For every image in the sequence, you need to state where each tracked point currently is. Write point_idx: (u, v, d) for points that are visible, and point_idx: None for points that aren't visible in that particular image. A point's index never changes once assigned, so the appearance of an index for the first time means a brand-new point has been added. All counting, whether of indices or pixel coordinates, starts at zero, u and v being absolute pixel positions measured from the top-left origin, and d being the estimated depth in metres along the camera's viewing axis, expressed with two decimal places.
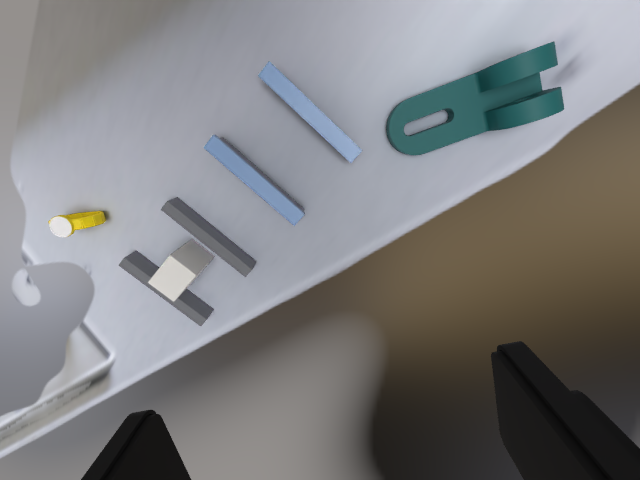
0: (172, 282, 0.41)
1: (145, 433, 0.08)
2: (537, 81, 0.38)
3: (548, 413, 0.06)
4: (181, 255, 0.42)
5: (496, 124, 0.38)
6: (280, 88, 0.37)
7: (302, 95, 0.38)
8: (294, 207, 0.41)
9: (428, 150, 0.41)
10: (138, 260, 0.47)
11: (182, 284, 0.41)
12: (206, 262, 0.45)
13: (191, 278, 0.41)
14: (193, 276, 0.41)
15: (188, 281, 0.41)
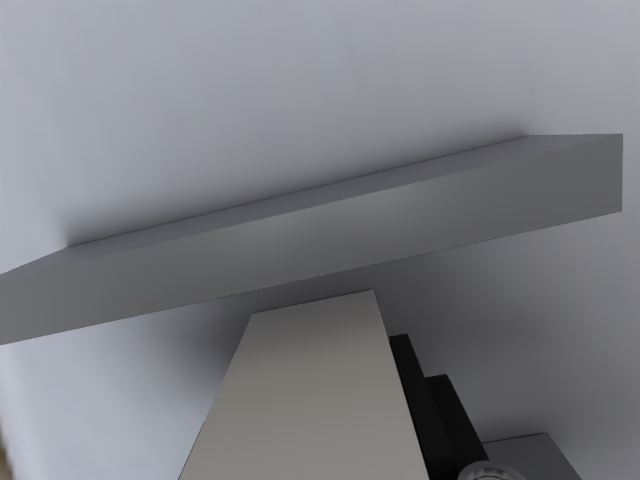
0: None
1: None
2: None
3: None
4: None
5: None
6: None
7: None
8: None
9: None
10: None
11: None
12: None
13: None
14: None
15: None
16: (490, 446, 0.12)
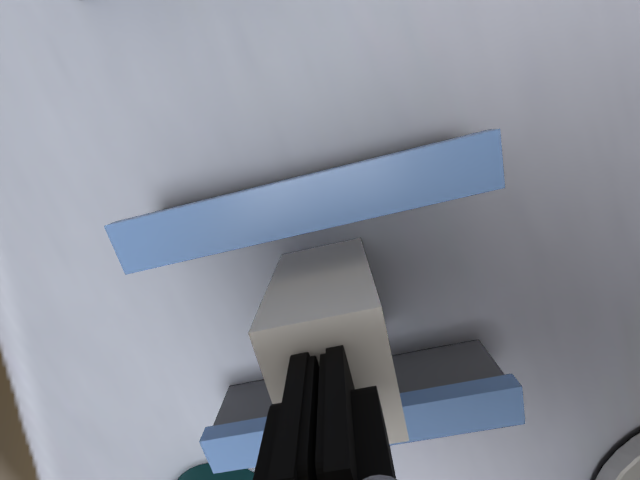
0: None
1: (314, 369, 0.09)
2: None
3: (322, 403, 0.08)
4: None
5: None
6: (456, 411, 0.14)
7: None
8: (160, 262, 0.13)
9: None
10: None
11: None
12: None
13: None
14: None
15: None
16: None
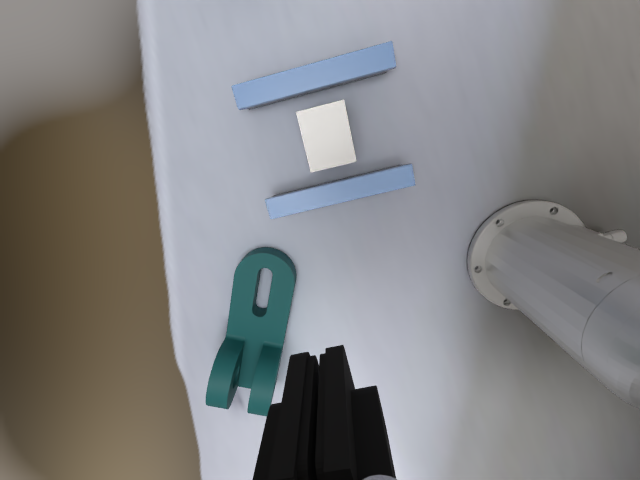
0: (321, 134, 0.27)
1: (314, 369, 0.09)
2: (247, 385, 0.41)
3: (322, 403, 0.08)
4: None
5: (225, 349, 0.37)
6: (383, 178, 0.31)
7: (362, 195, 0.32)
8: (253, 102, 0.30)
9: (235, 280, 0.37)
10: None
11: (311, 144, 0.28)
12: None
13: (310, 163, 0.28)
14: (311, 168, 0.28)
15: (309, 156, 0.28)
16: None
